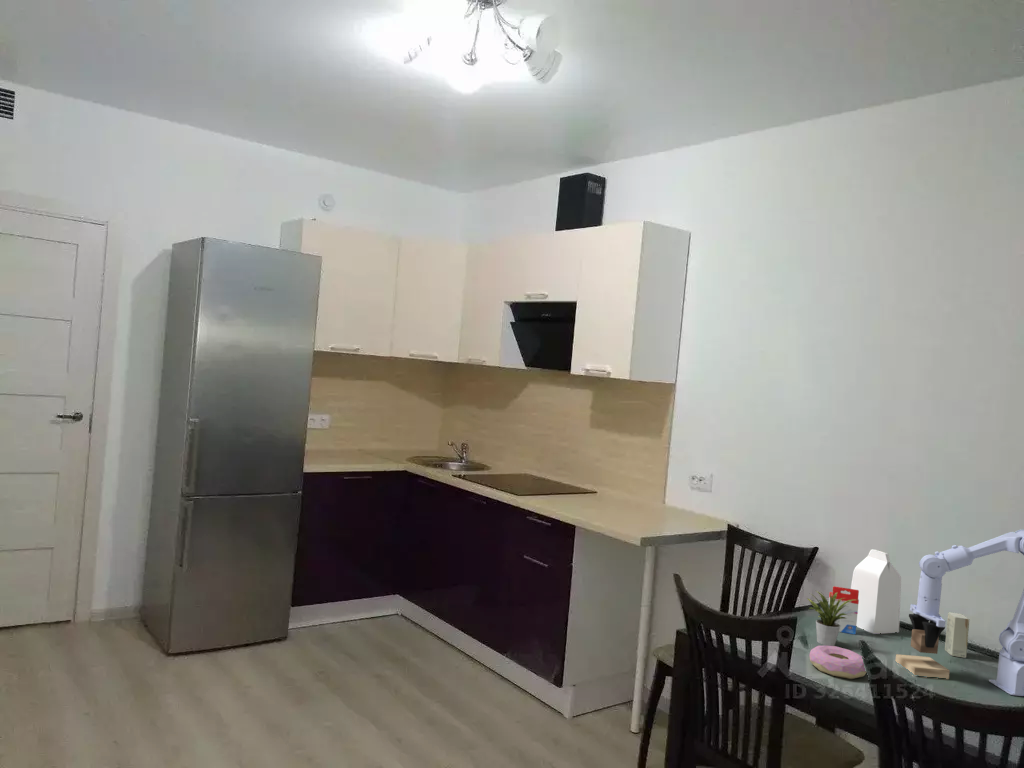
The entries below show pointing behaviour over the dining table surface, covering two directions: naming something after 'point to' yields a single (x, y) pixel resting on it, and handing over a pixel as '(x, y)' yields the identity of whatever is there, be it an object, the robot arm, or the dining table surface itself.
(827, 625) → the house plant
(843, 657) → the donut
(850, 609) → the ink box
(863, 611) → the milk
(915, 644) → the walnut cube
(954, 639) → the skincare box
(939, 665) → the oak block
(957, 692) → the dining table surface
